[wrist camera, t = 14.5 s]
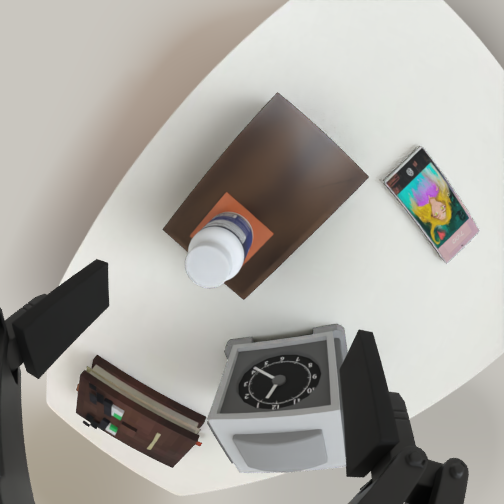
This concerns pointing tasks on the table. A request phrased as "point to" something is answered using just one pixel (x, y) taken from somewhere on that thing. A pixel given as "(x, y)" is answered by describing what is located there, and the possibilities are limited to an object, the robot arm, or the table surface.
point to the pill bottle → (219, 250)
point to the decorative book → (136, 413)
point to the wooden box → (271, 189)
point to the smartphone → (432, 204)
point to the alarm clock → (282, 403)
